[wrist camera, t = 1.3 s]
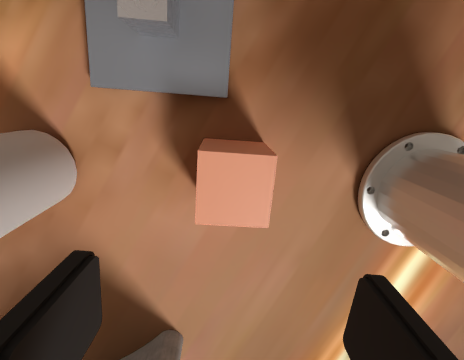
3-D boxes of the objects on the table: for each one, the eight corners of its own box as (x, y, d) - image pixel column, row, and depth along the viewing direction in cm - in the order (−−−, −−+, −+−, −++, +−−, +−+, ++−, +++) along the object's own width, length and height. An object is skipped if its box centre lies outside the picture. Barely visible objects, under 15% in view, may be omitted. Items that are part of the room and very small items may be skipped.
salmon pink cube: (263, 142, 26) (277, 156, 20) (257, 197, 28) (268, 228, 21) (204, 138, 26) (197, 150, 19) (201, 194, 28) (194, 224, 21)
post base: (237, -54, 22) (243, -118, 15) (226, 97, 25) (228, 96, 19) (88, -71, 21) (31, -145, 15) (98, 87, 24) (56, 82, 18)
